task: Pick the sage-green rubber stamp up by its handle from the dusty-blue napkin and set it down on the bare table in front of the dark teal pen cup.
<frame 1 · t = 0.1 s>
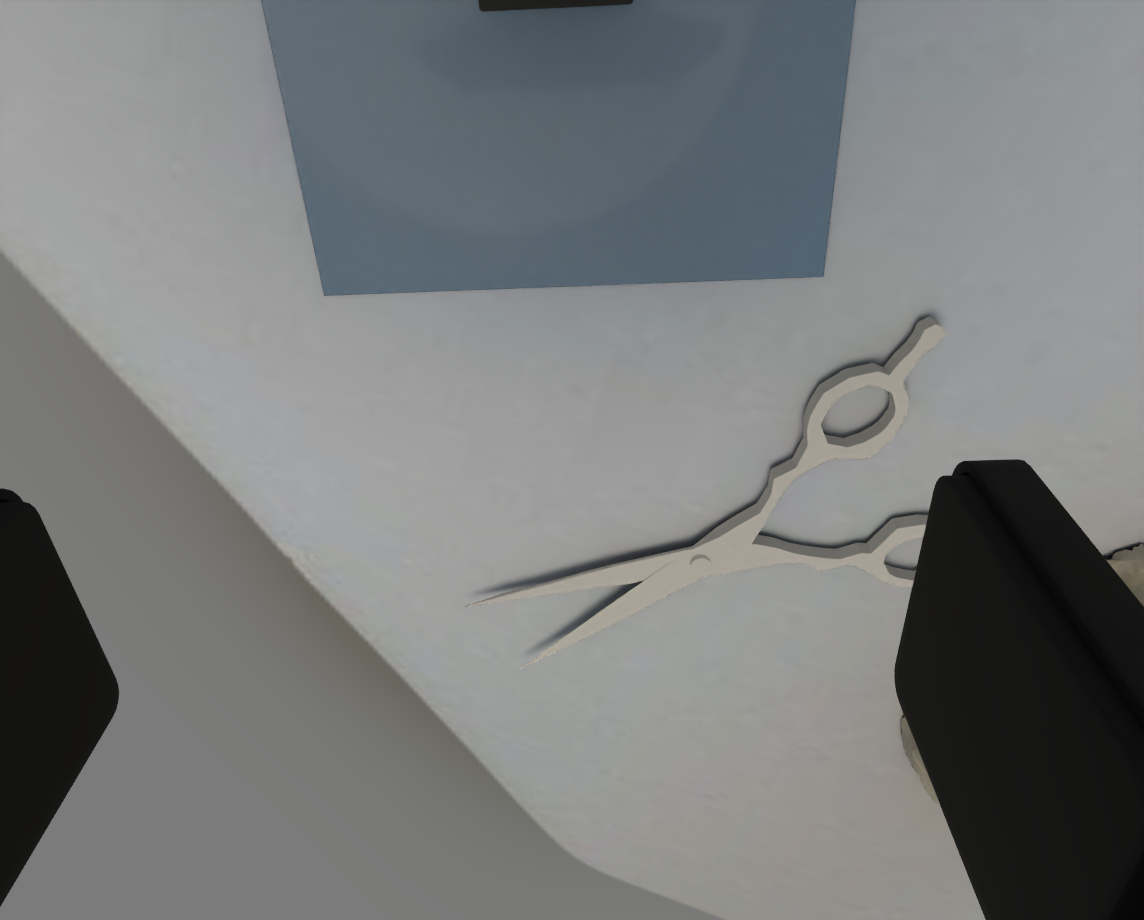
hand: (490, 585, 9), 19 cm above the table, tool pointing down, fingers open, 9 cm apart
scissors: (713, 539, 33), on the table
ceramic cottage: (1089, 705, 38), on the table
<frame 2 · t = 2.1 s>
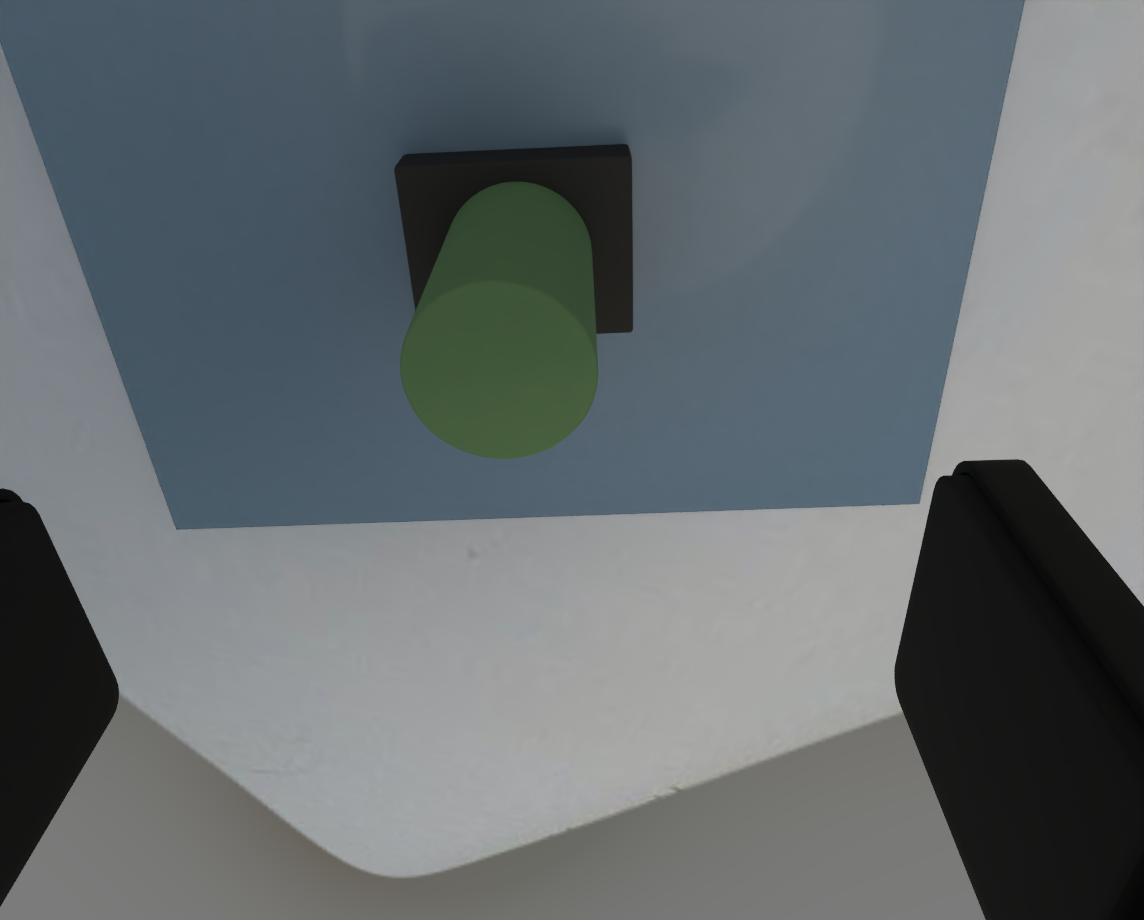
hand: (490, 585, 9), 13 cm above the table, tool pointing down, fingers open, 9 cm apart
napkin: (522, 236, 20), on the table
stamp: (522, 237, 20), resting on napkin
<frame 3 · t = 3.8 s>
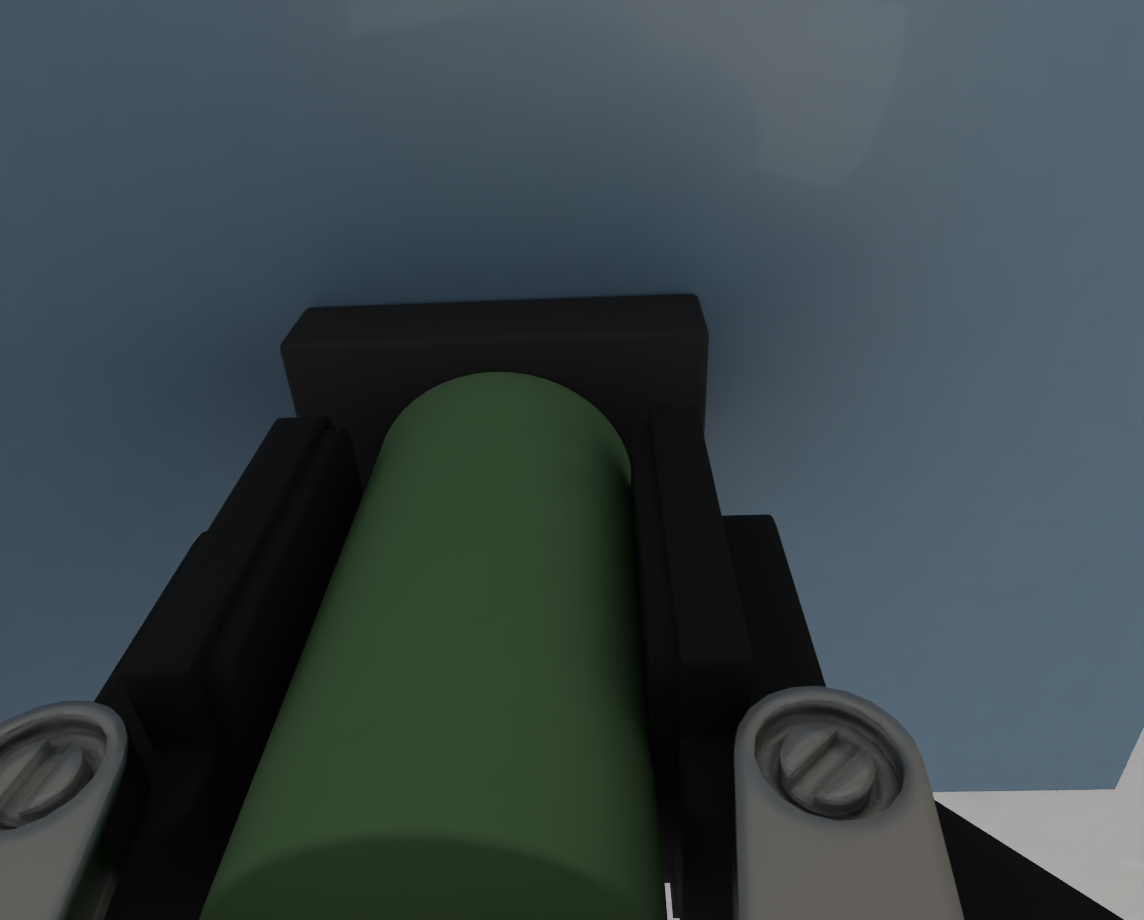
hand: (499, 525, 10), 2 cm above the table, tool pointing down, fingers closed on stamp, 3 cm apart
napkin: (513, 429, 12), on the table
stamp: (512, 434, 12), resting on napkin, touching gripper
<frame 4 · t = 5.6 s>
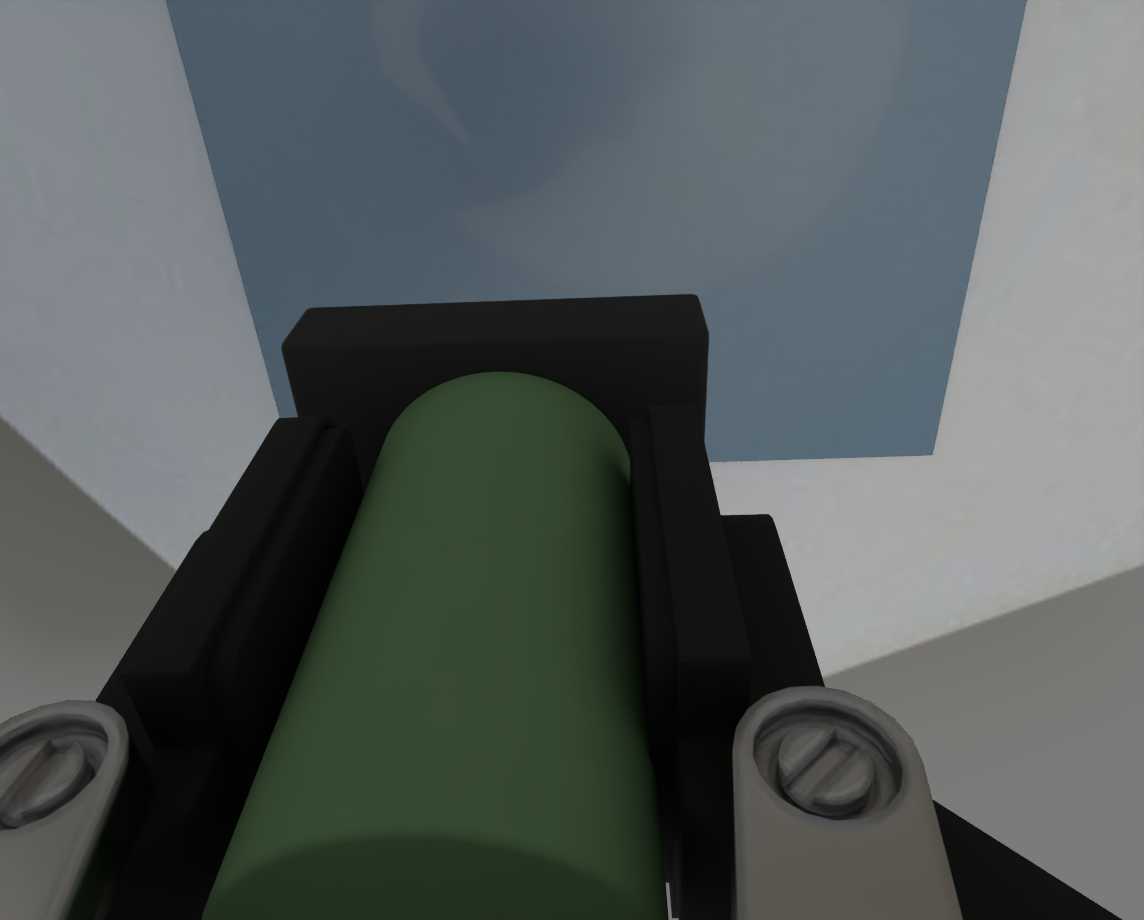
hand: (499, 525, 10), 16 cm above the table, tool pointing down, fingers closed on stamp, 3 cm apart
napkin: (599, 224, 24), on the table
stamp: (513, 433, 12), point 14 cm above the table, touching gripper
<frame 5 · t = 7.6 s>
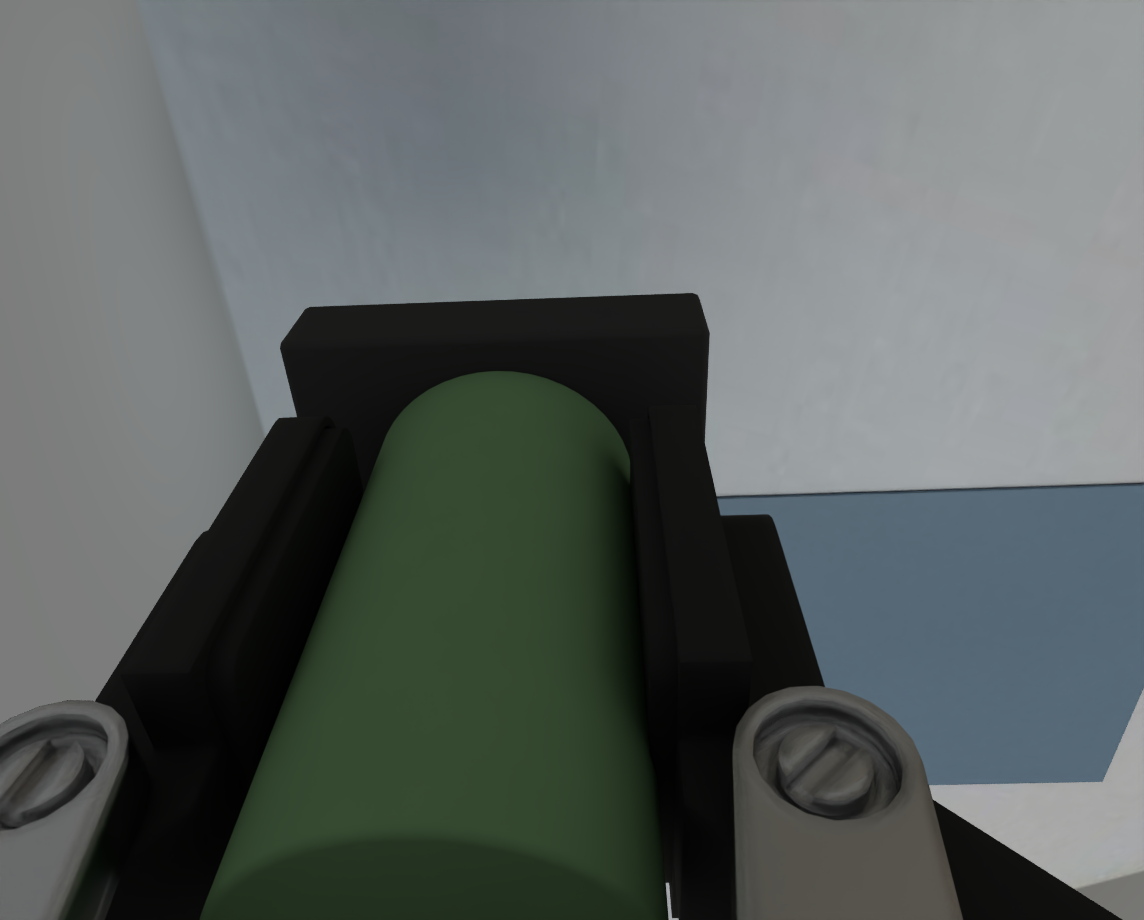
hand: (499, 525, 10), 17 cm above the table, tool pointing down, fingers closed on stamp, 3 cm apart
napkin: (888, 655, 34), on the table
stamp: (513, 433, 12), point 15 cm above the table, touching gripper
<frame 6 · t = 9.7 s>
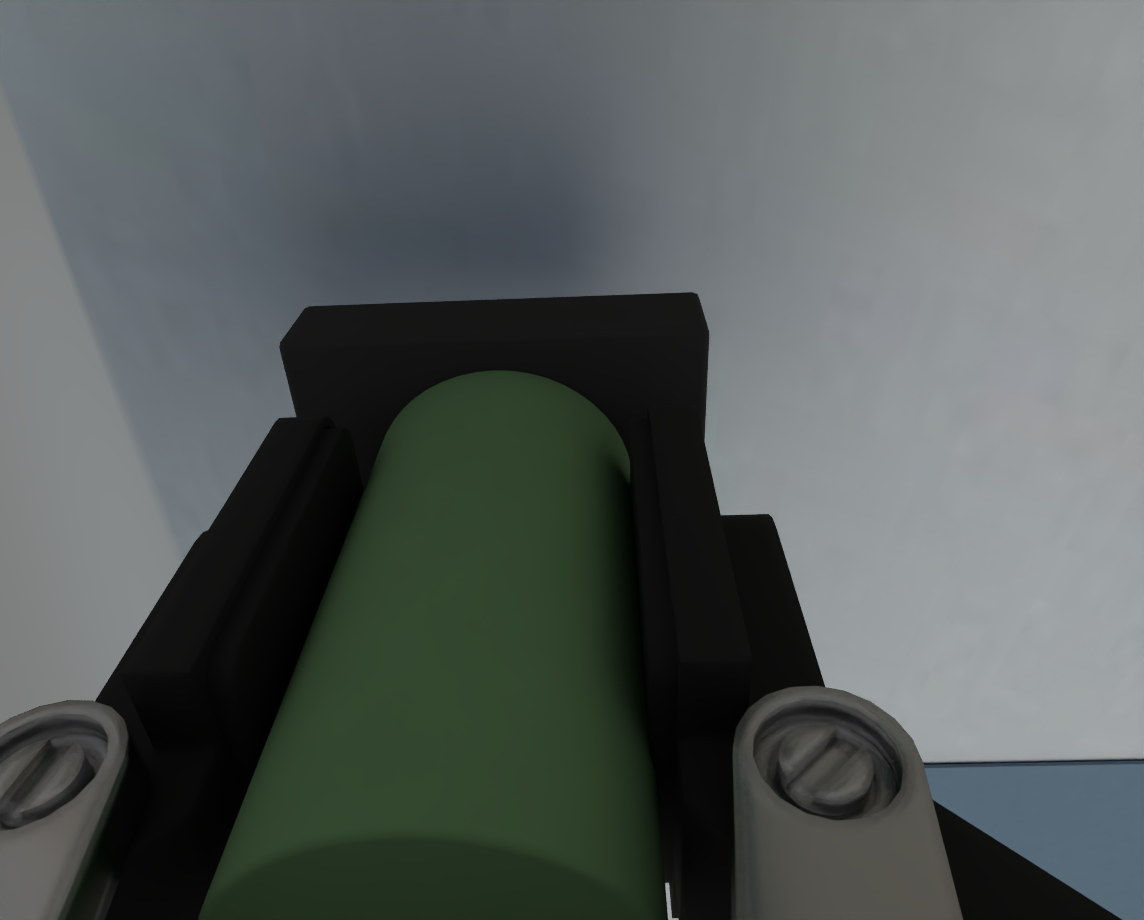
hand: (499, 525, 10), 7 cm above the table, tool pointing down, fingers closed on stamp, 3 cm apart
stamp: (512, 433, 12), point 5 cm above the table, touching gripper
when the fingers open (2 cm above the table, at t = 11.2 s): stamp stays where it is, on the table.
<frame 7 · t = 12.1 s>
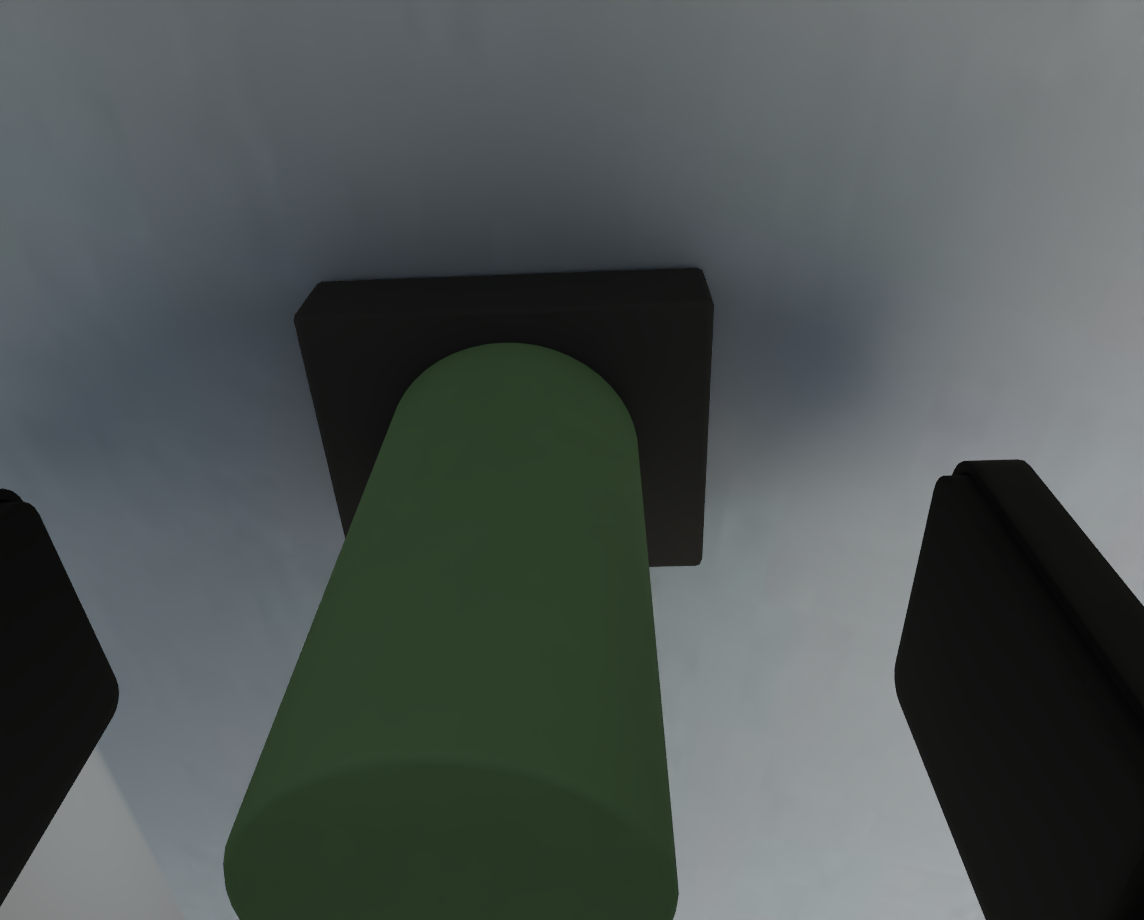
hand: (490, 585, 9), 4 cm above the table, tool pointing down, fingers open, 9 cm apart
stamp: (520, 408, 12), on the table
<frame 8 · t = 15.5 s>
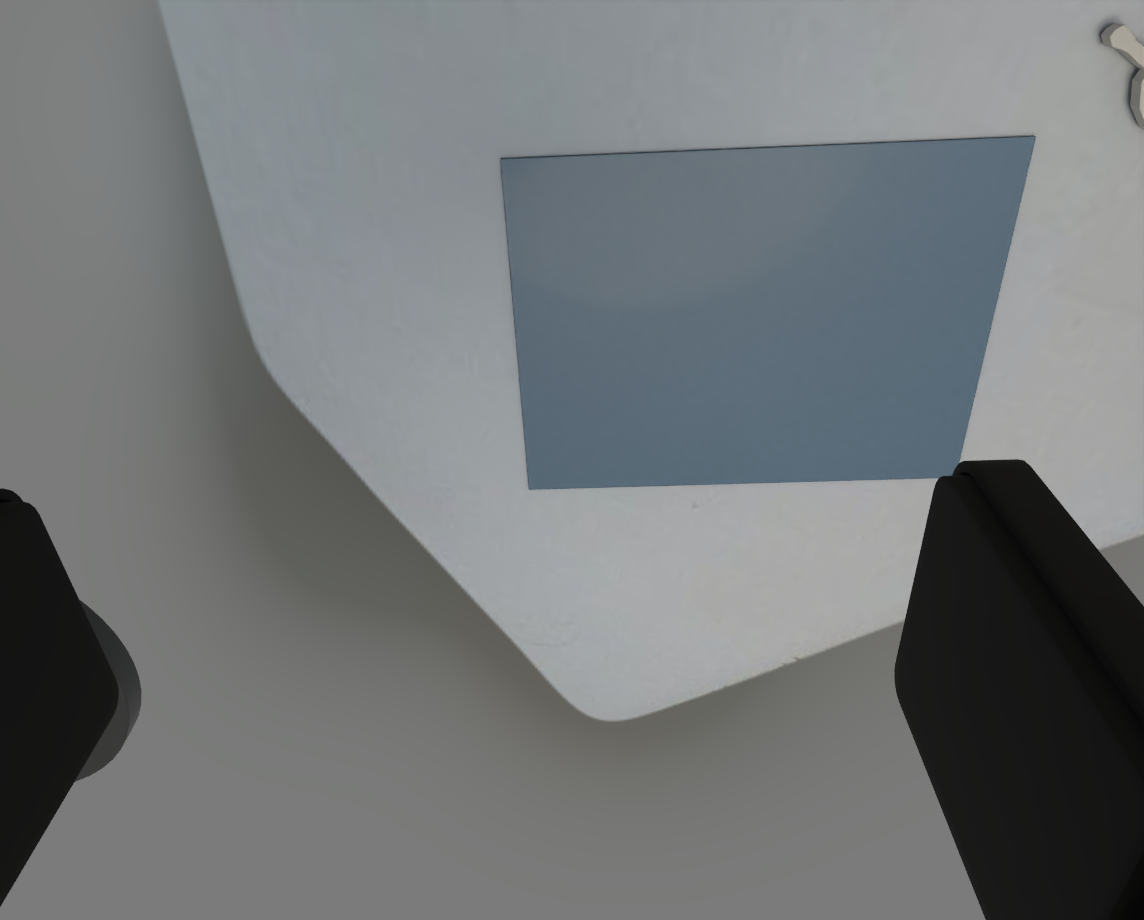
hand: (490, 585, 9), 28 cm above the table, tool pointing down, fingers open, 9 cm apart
napkin: (750, 333, 38), on the table
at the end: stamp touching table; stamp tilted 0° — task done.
